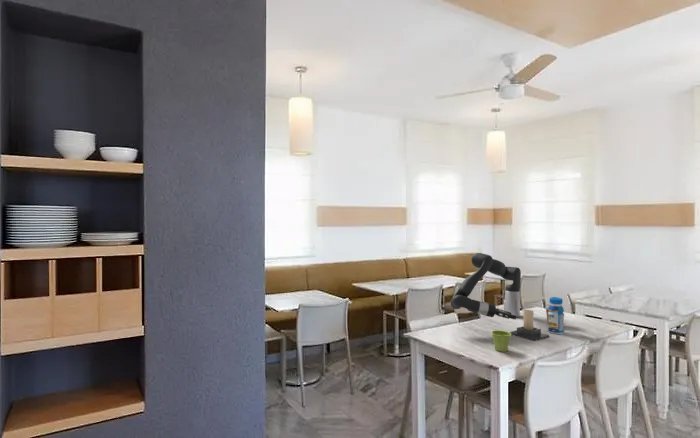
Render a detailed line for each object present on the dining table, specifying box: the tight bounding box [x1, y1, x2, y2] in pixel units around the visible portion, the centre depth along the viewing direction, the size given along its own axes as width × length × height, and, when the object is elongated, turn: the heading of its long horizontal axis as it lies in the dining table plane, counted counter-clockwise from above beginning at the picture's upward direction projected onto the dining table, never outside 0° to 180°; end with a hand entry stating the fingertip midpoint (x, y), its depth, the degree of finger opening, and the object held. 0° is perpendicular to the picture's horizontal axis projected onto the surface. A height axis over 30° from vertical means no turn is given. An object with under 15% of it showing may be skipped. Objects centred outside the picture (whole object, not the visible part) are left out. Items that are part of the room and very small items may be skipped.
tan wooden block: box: [523, 309, 535, 331], centre depth 229 cm, size 5×5×13 cm
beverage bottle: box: [547, 296, 565, 335], centre depth 235 cm, size 8×8×20 cm
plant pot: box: [491, 329, 512, 353], centre depth 205 cm, size 9×9×9 cm
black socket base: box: [509, 325, 550, 342], centre depth 229 cm, size 16×14×4 cm
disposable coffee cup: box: [544, 304, 551, 322], centre depth 250 cm, size 10×10×12 cm
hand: (513, 316), depth 233 cm, fingers open, 8 cm apart
